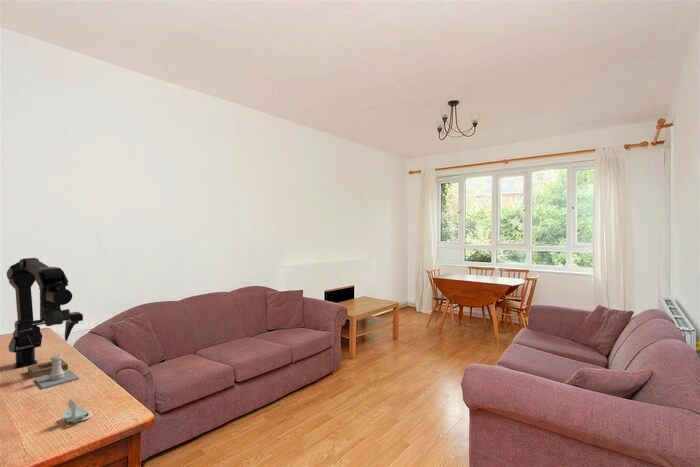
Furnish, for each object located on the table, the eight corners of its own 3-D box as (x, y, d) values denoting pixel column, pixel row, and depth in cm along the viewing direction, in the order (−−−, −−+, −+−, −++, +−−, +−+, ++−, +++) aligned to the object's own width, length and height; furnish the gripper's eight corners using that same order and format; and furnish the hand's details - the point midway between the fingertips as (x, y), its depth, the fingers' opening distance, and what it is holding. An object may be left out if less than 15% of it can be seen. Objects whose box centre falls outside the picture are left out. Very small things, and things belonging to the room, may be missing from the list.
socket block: (27, 371, 132) (27, 366, 132) (61, 363, 140) (61, 358, 140) (33, 378, 125) (33, 372, 125) (67, 369, 133) (67, 364, 133)
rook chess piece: (55, 381, 121) (55, 358, 121) (45, 380, 122) (44, 357, 122) (68, 376, 126) (67, 354, 126) (58, 375, 126) (57, 353, 126)
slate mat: (34, 380, 124) (34, 378, 124) (70, 371, 131) (70, 370, 131) (42, 389, 116) (42, 387, 116) (79, 379, 124) (79, 377, 124)
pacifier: (86, 411, 101) (60, 419, 96) (87, 389, 101) (61, 396, 96) (95, 418, 97) (69, 428, 92) (96, 396, 97) (69, 404, 92)
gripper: (19, 309, 117) (19, 355, 117) (87, 301, 131) (87, 342, 131) (14, 305, 124) (14, 348, 124) (78, 297, 138) (79, 336, 138)
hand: (50, 343), depth 129 cm, fingers open, 9 cm apart
